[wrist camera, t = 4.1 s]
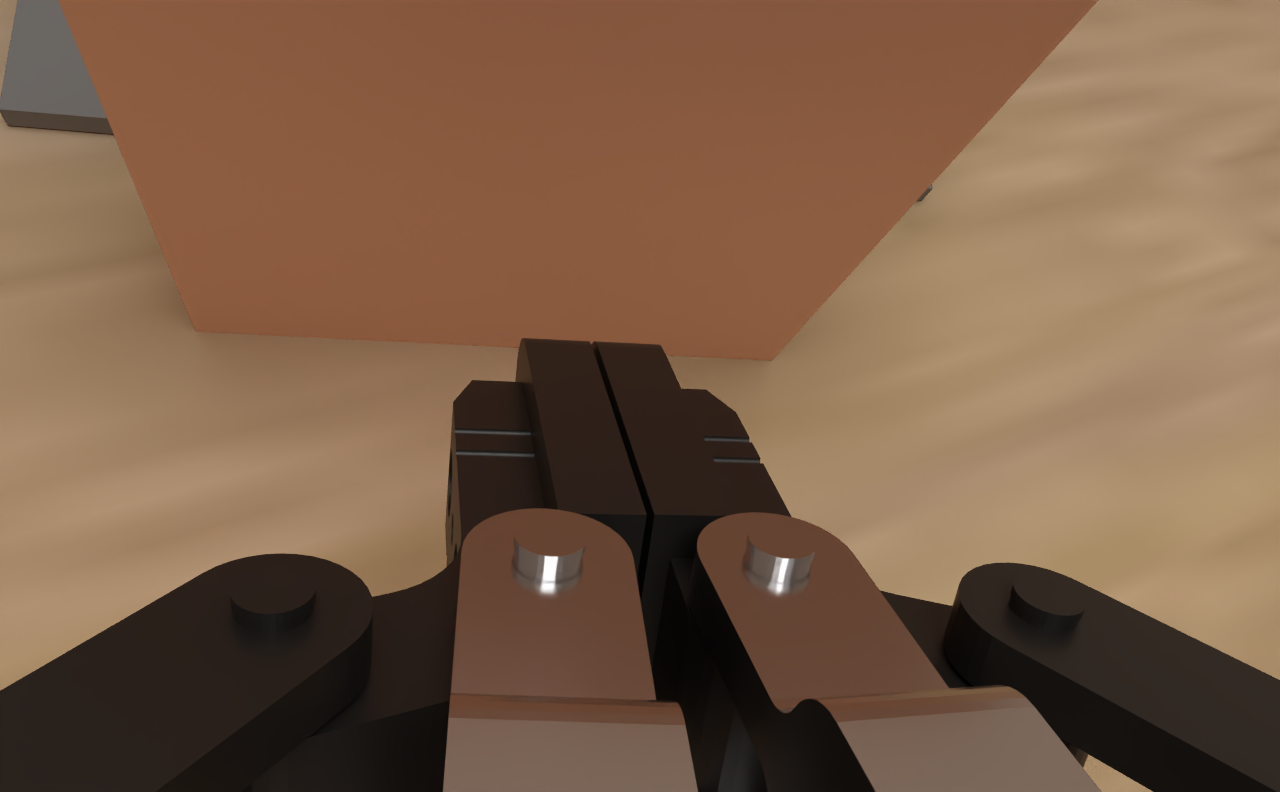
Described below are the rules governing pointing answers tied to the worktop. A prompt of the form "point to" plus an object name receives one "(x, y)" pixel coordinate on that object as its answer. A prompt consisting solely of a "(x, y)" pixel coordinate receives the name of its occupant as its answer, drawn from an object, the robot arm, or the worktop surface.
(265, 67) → the tile
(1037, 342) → the worktop surface
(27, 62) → the mat
